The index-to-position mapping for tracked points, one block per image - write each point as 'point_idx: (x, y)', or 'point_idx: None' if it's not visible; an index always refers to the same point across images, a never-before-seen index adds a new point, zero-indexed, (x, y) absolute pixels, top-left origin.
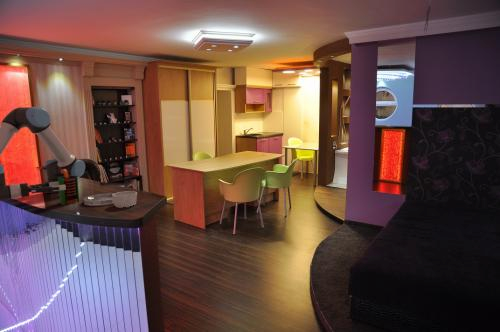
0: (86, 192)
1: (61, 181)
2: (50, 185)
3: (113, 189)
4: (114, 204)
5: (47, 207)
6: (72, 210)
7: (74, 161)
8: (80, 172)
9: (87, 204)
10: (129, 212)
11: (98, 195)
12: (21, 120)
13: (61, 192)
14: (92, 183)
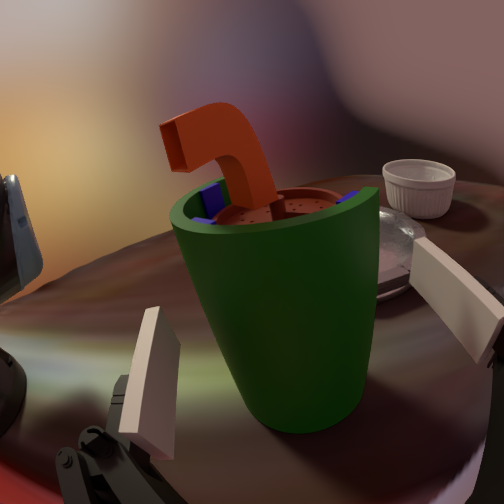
0: (96, 322)
1: (372, 238)
2: (161, 437)
3: (136, 258)
4: (435, 212)
5: (397, 494)
6: None
7: (2, 181)
8: (36, 242)
9: None
10: (484, 198)
11: None
12: None
13: (360, 353)
14: (9, 308)
